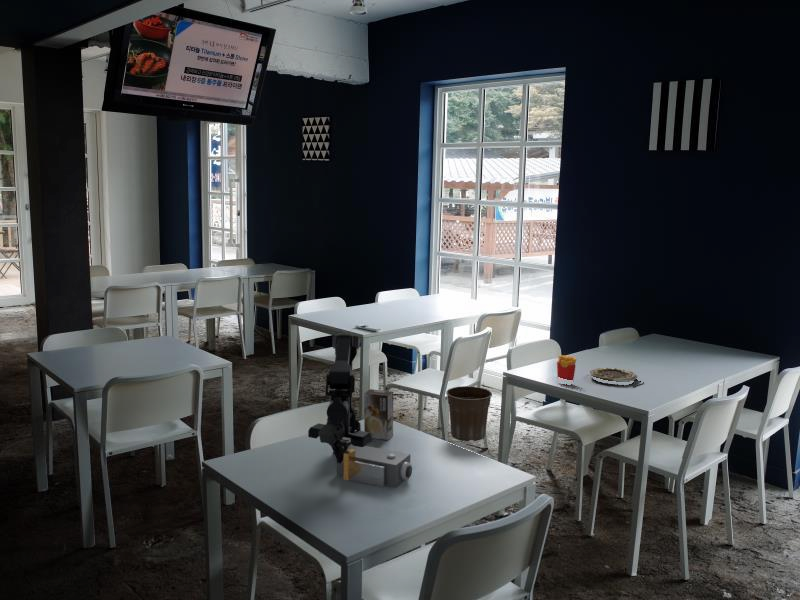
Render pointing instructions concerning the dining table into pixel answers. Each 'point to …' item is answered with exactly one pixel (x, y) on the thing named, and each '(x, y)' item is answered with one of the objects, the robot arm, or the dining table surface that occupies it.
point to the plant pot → (468, 412)
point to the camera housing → (382, 463)
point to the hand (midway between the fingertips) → (339, 462)
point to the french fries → (566, 367)
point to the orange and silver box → (363, 470)
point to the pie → (613, 374)
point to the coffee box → (378, 413)
